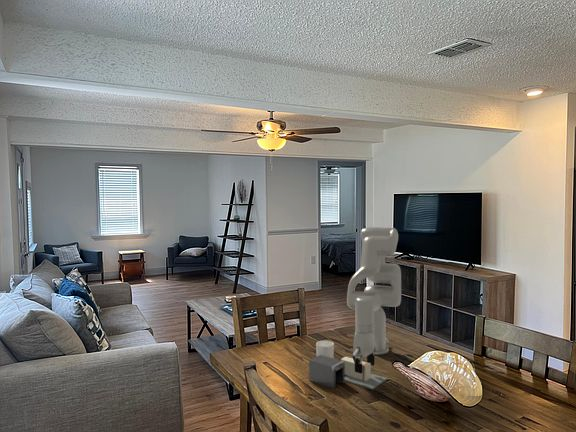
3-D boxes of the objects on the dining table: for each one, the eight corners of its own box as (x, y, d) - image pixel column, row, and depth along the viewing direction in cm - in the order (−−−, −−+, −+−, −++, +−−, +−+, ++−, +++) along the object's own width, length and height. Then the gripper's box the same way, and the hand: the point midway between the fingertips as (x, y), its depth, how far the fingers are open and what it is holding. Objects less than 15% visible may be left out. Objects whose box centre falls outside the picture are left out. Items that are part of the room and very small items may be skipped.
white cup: (333, 369, 188) (333, 347, 188) (314, 368, 190) (314, 345, 189) (334, 363, 196) (334, 341, 195) (317, 361, 197) (317, 340, 197)
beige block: (345, 370, 186) (345, 356, 186) (370, 377, 178) (370, 363, 178) (340, 373, 183) (340, 359, 183) (365, 381, 175) (365, 366, 175)
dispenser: (320, 374, 183) (320, 354, 183) (344, 382, 175) (344, 361, 175) (309, 380, 177) (309, 359, 177) (333, 388, 170) (333, 367, 169)
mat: (357, 370, 187) (357, 369, 187) (387, 379, 178) (387, 378, 178) (341, 380, 178) (341, 378, 178) (372, 389, 169) (372, 388, 169)
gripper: (367, 320, 186) (367, 359, 187) (345, 331, 173) (345, 373, 174) (383, 323, 181) (383, 364, 182) (361, 335, 168) (362, 378, 169)
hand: (364, 368), depth 178 cm, fingers open, 9 cm apart
